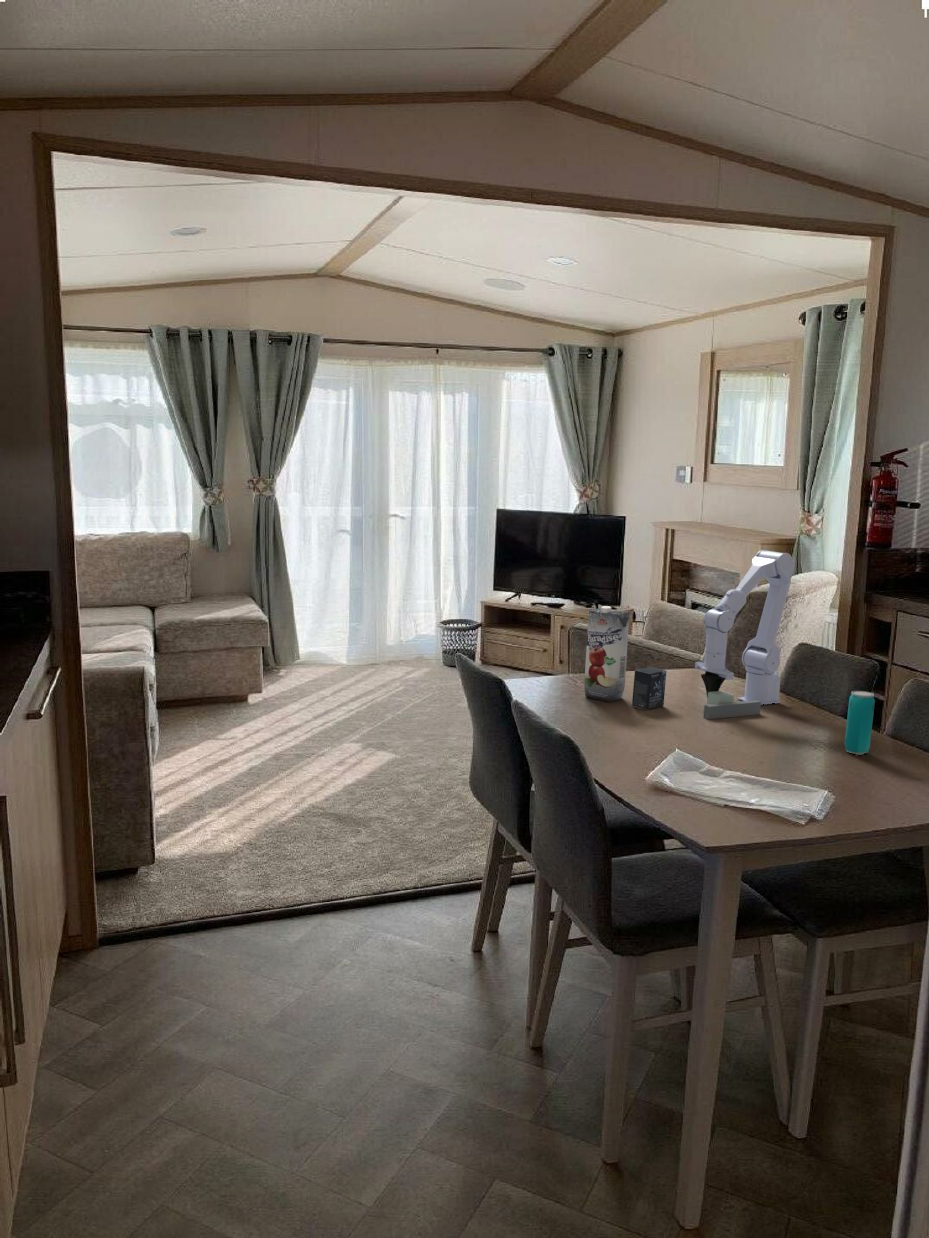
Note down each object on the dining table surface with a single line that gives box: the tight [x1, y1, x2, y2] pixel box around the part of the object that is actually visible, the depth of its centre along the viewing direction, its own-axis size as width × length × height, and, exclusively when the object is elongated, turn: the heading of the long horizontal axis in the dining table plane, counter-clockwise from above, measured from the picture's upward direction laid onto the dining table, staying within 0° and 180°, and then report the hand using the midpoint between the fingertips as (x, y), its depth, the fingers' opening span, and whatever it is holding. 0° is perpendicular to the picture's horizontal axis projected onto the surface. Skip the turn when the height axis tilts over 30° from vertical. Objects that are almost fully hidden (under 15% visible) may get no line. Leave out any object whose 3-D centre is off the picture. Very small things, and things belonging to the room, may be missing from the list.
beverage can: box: [844, 690, 876, 754], centre depth 240 cm, size 6×6×15 cm
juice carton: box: [584, 605, 630, 703], centre depth 284 cm, size 9×10×27 cm
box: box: [631, 666, 667, 711], centre depth 278 cm, size 8×6×11 cm
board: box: [702, 700, 762, 720], centre depth 272 cm, size 18×2×4 cm, turn 115°
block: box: [706, 690, 735, 705], centre depth 276 cm, size 5×5×5 cm
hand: (711, 699), depth 280 cm, fingers closed
